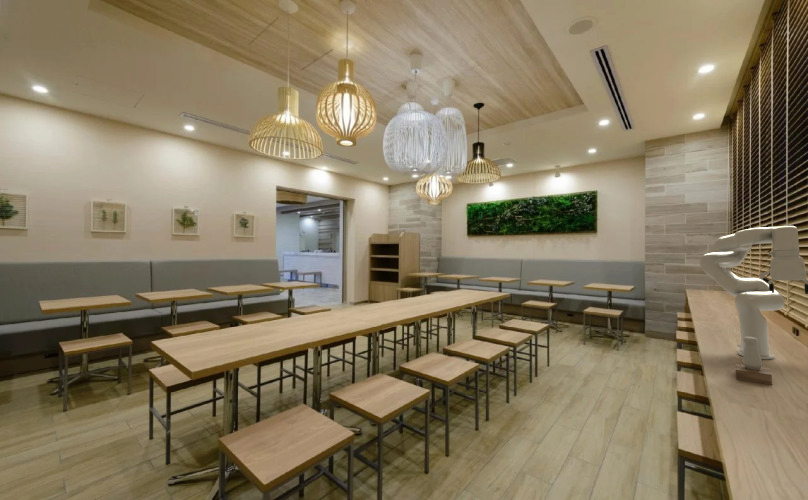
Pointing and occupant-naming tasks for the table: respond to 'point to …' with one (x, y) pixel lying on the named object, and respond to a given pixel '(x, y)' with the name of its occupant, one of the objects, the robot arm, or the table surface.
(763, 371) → the block
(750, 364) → the salt shaker
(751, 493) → the table surface
